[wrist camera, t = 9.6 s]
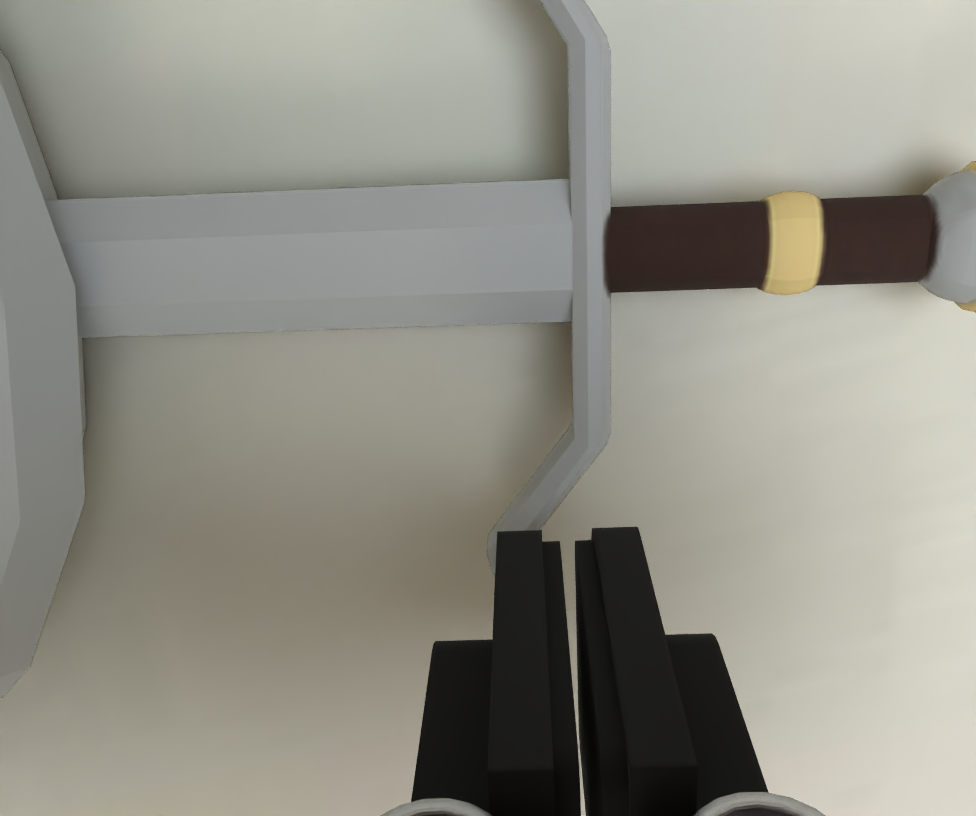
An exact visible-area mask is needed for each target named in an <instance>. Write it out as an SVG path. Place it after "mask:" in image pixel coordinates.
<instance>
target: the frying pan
mask: <svg viewBox="0 0 976 816" xmlns="http://www.w3.org/2000/svg"><path fill="white" fill-rule="evenodd" d="M539 1H540V3H541V5H542V6H543V8H544V9H545V11H546V13H547V14H548V16H549V17H550V19H551V21H552V22H553V24H554V25H555V27H556V29H557V30H558V32H559V33H560V35H561V37H562V38H563V40H564V41H565V43H566V45H567V64H568V133H569V179H547V180H523V181H499V182H475V183H451V184H426V185H402V186H378V187H354V188H330V189H305V190H281V191H257V192H233V193H209V194H185V195H160V196H136V197H112V198H88V199H64V200H58V197H57V194H56V191H55V189H54V186H53V183H52V180H51V177H50V175H49V172H48V169H47V166H46V163H45V161H44V158H43V155H42V152H41V149H40V147H39V144H38V141H37V138H36V135H35V133H34V130H33V127H32V124H31V121H30V119H29V116H28V113H27V110H26V107H25V105H24V102H23V99H22V96H21V94H20V91H19V88H18V85H17V82H16V80H15V77H14V74H13V71H12V68H11V66H10V63H9V61H8V60H7V58H6V57H5V56H4V54H3V53H2V51H1V50H0V700H1V699H2V698H3V696H4V695H5V694H6V693H7V692H8V691H9V690H10V689H11V687H12V686H13V685H14V684H15V683H16V682H17V681H18V680H19V678H20V677H21V676H22V675H23V674H24V673H25V672H26V671H27V669H28V668H29V667H30V666H31V663H32V660H33V657H34V654H35V651H36V648H37V645H38V642H39V639H40V636H41V633H42V630H43V627H44V624H45V621H46V618H47V615H48V611H49V608H50V605H51V602H52V599H53V596H54V593H55V590H56V587H57V584H58V581H59V578H60V575H61V572H62V569H63V566H64V563H65V560H66V557H67V554H68V551H69V548H70V545H71V542H72V539H73V536H74V533H75V530H76V526H77V523H78V520H79V517H80V514H81V511H82V508H83V505H84V502H85V488H84V466H83V444H82V439H83V436H84V433H85V430H86V410H85V387H84V365H83V342H82V338H95V337H125V336H155V335H185V334H215V333H245V332H275V331H305V330H335V329H365V328H395V327H426V326H456V325H486V324H516V323H546V322H571V340H572V409H573V423H572V424H571V426H570V427H569V428H568V430H567V431H566V432H565V434H564V435H563V436H562V438H561V439H560V440H559V442H558V443H557V444H556V445H555V447H554V448H553V449H552V451H551V452H550V453H549V455H548V456H547V457H546V459H545V460H544V461H543V463H542V464H541V465H540V467H539V468H538V469H537V471H536V472H535V473H534V475H533V476H532V477H531V479H530V480H529V481H528V483H527V484H526V485H525V487H524V488H523V489H522V491H521V492H520V493H519V495H518V496H517V497H516V499H515V500H514V501H513V503H512V504H511V505H510V507H509V508H508V509H507V510H506V512H505V513H504V514H503V516H502V517H501V518H500V520H499V521H498V522H497V524H496V525H495V526H494V528H493V529H492V530H491V532H490V533H489V534H488V545H487V556H488V560H489V563H490V567H491V571H492V574H495V567H496V542H497V531H525V530H540V529H541V527H542V526H543V525H544V524H545V522H546V521H547V520H548V519H549V517H550V516H551V515H552V513H553V512H554V511H555V510H556V508H557V507H558V506H559V504H560V503H561V502H562V501H563V499H564V498H565V497H566V495H567V494H568V493H569V492H570V490H571V489H572V488H573V487H574V485H575V484H576V483H577V481H578V480H579V479H580V478H581V476H582V475H583V474H584V472H585V471H586V470H587V469H588V467H589V466H590V465H591V464H592V462H593V461H594V460H595V458H596V457H597V456H598V455H599V453H600V452H601V451H602V449H603V448H604V447H605V446H606V444H607V441H608V438H609V435H610V313H611V293H613V292H641V291H670V290H699V289H727V288H756V287H757V288H758V289H760V290H762V291H764V292H767V293H771V294H779V295H791V294H798V293H802V292H805V291H808V290H810V289H812V288H814V287H815V286H816V285H842V284H871V283H900V282H919V283H920V284H921V285H922V286H923V287H924V288H926V289H927V290H928V291H929V292H931V293H932V294H934V295H936V296H938V297H940V298H943V299H946V300H950V301H954V302H955V303H956V304H957V305H958V306H959V307H960V308H962V309H963V310H968V311H973V312H976V161H973V162H971V163H970V164H969V165H967V166H966V167H965V168H964V169H962V170H961V171H960V172H957V173H954V174H951V175H949V176H947V177H945V178H943V179H941V180H940V181H938V182H937V183H935V184H934V185H933V186H932V187H930V188H929V189H928V190H927V191H926V192H925V193H924V194H922V195H909V196H884V197H858V198H833V199H820V198H819V197H817V196H815V195H813V194H810V193H806V192H802V191H788V192H780V193H777V194H774V195H770V196H768V197H766V198H764V199H762V200H761V201H757V202H732V203H707V204H682V205H657V206H631V207H611V51H610V47H609V44H608V40H607V37H606V35H605V33H604V31H603V30H602V28H601V26H600V25H599V23H598V22H597V20H596V18H595V17H594V15H593V13H592V12H591V10H590V8H589V7H588V5H587V3H586V2H585V0H539Z"/></svg>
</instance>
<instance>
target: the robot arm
mask: <svg viewBox="0 0 976 816" xmlns="http://www.w3.org/2000/svg"><path fill="white" fill-rule="evenodd" d="M575 580H576V624H577V669H578V713H579V740H580V754H581V766H582V777H583V788H584V799H585V810H586V816H825V815H823V814H822V813H821V812H819V811H818V810H817V809H815V808H813V807H811V806H808V805H806V804H804V803H802V802H799V801H797V800H795V799H793V798H790V797H786V796H781V795H776V794H771V793H768V790H767V787H766V784H765V781H764V778H763V775H762V772H761V769H760V766H759V763H758V760H757V757H756V754H755V751H754V748H753V745H752V742H751V739H750V736H749V733H748V730H747V727H746V724H745V721H744V718H743V715H742V712H741V709H740V706H739V703H738V700H737V697H736V694H735V691H734V688H733V685H732V682H731V679H730V676H729V673H728V671H727V668H726V665H725V662H724V659H723V656H722V653H721V650H720V647H719V644H718V642H717V639H716V637H715V636H714V635H713V634H676V635H665V632H664V628H663V624H662V620H661V616H660V612H659V608H658V604H657V600H656V596H655V592H654V588H653V584H652V580H651V576H650V572H649V568H648V564H647V560H646V556H645V552H644V548H643V544H642V540H641V536H640V532H639V529H638V527H615V528H592V537H591V540H582V541H575ZM381 816H581V806H580V777H579V759H578V745H577V733H576V722H575V710H574V698H573V687H572V675H571V664H570V652H569V641H568V629H567V618H566V606H565V594H564V583H563V571H562V560H561V548H560V541H552V542H542V530H525V531H497V542H496V567H495V592H494V617H493V640H461V641H435V643H434V645H433V649H432V655H431V663H430V670H429V677H428V684H427V691H426V699H425V706H424V713H423V720H422V727H421V735H420V742H419V749H418V756H417V764H416V771H415V778H414V785H413V792H412V800H411V802H410V803H406V804H403V805H399V806H398V807H396V808H394V809H392V810H390V811H388V812H386V813H385V814H383V815H381Z"/></svg>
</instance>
